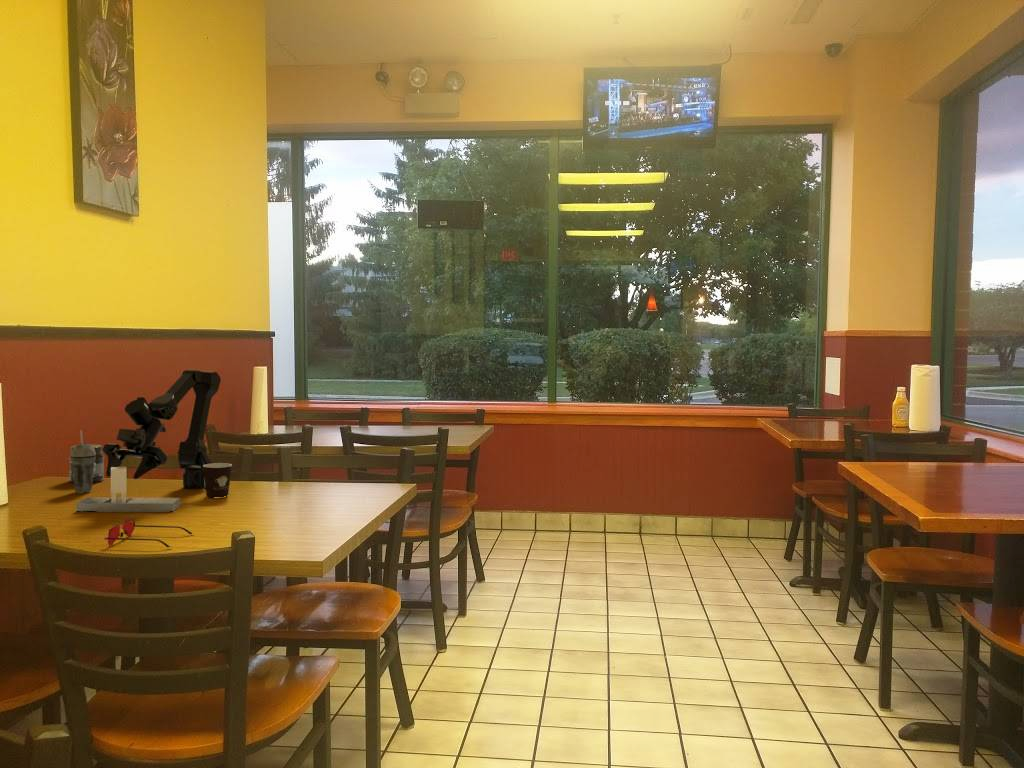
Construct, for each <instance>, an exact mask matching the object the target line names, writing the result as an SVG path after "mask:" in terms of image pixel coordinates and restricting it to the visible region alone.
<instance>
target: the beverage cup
mask: <svg viewBox="0 0 1024 768" xmlns="http://www.w3.org/2000/svg"><path fill="white" fill-rule="evenodd" d="M79 433H80V436H79V437H80V443H78V444H76V445H74V446H75V447H74V448H73V450H72V452H71V451H70V455H71V456H70V455H69V456H70V457H71V462H72V467H73V477H74V483H73V486H74V492H78V493H77V494H85V493H84V492H90V491H91V492H92V489H93V483H92V482H93V471H94V462H95V459H96V453H95V450H94V448H93V447H92V446H91V445H92V444H89V443H84V442H83V441H84V440H83V430H82V429H80V430H79ZM91 492H90V493H91Z"/></svg>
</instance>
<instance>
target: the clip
mask: <svg viewBox="0 0 1024 768" xmlns="http://www.w3.org/2000/svg"><path fill="white" fill-rule="evenodd" d="M117 494H120V498H121V503H126V498H127V466H119V467H111V476H110V498H111V503H116V498H117Z"/></svg>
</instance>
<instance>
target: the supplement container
mask: <svg viewBox="0 0 1024 768" xmlns="http://www.w3.org/2000/svg"><path fill="white" fill-rule="evenodd" d="M90 445H91V446H92V447H93V448H94V450H95V453H96V459H95V462H94V471H93V482H92V484H95V483H99V481H100V482H102V481H103V480H104V478H105V475H104V474H105V473H104V472H105V469H104V468H105V465H104V464H105V463H104V461H105V459H104V458H105V455H104V454H103V451H102V449H103V447H104V446H103V445H100V444H90ZM75 446H76V445H72V446H70V453H71V452H72V450H73V448H74V447H75ZM70 456H71V454H70V455H69V457H68V460H69V477H68V479H69V481H70V482H71V483H73V482H74V477H73V467H72V462H71V457H70ZM94 482H95V483H94Z"/></svg>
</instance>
